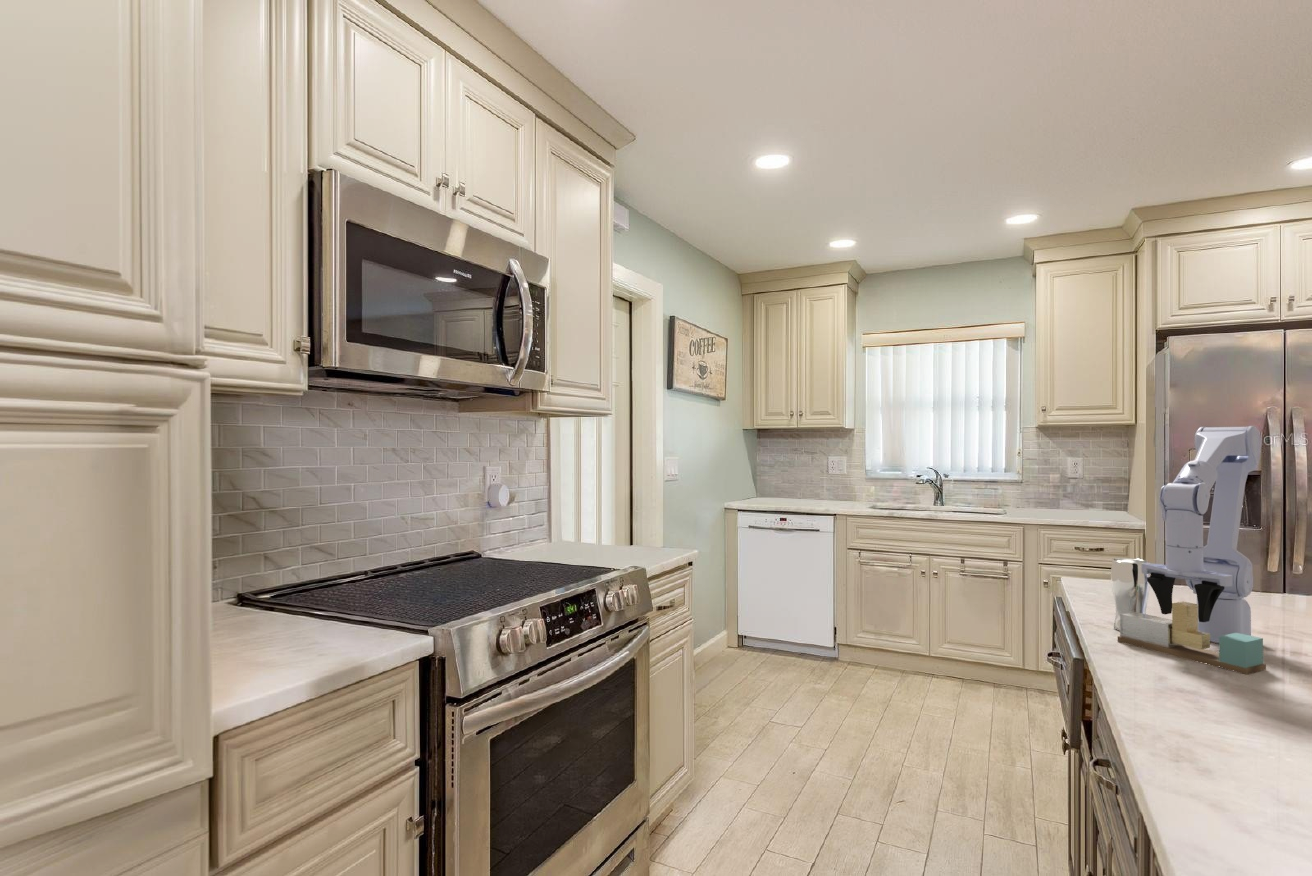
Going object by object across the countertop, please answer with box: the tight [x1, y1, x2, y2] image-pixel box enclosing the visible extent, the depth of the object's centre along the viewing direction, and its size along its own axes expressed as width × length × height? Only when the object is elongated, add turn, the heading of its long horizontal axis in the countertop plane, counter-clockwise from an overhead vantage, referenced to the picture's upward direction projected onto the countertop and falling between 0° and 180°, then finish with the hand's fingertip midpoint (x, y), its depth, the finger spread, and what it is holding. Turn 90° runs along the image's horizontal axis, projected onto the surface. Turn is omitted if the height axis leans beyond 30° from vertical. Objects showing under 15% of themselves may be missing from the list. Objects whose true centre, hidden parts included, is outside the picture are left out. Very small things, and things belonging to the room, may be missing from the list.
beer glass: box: [1110, 557, 1151, 631], centre depth 148 cm, size 7×7×15 cm
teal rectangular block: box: [1218, 633, 1264, 668], centre depth 123 cm, size 6×4×4 cm
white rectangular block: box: [1119, 612, 1181, 648], centre depth 137 cm, size 4×9×4 cm, turn 25°
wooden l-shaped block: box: [1170, 601, 1211, 650], centre depth 134 cm, size 4×13×8 cm, turn 25°
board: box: [1117, 635, 1267, 675], centre depth 131 cm, size 6×22×1 cm, turn 25°
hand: (1185, 617), depth 131 cm, fingers open, 6 cm apart
